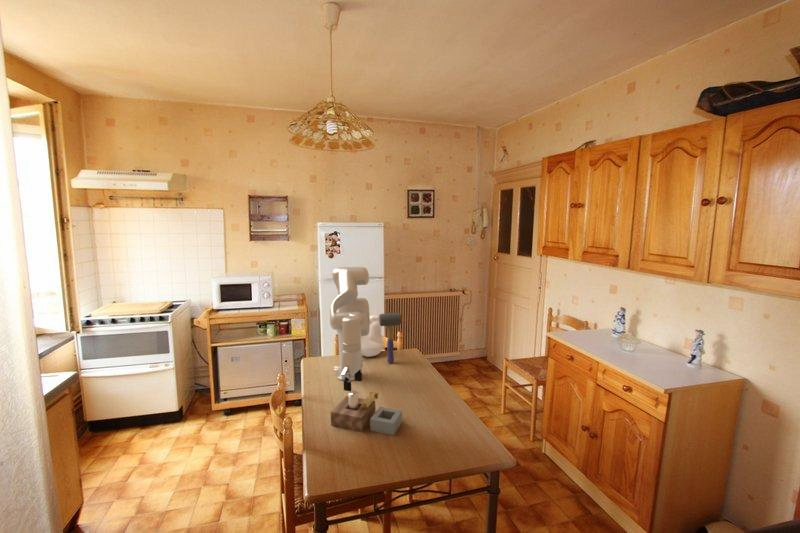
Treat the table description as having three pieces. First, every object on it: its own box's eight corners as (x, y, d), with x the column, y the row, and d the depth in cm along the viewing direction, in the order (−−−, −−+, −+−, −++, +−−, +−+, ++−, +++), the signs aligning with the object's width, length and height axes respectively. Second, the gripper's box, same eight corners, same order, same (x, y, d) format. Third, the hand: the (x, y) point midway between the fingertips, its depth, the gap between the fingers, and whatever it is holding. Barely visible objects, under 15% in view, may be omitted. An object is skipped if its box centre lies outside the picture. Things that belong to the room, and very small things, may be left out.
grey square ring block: (370, 430, 147) (370, 418, 146) (380, 417, 156) (379, 406, 156) (393, 435, 144) (393, 423, 143) (401, 421, 153) (401, 410, 152)
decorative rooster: (379, 348, 238) (379, 311, 235) (387, 356, 223) (386, 317, 220) (341, 352, 230) (340, 314, 226) (346, 362, 215) (345, 321, 212)
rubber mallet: (399, 359, 219) (399, 310, 215) (402, 364, 212) (401, 314, 208) (379, 361, 217) (378, 312, 213) (380, 366, 210) (380, 315, 205)
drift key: (360, 407, 153) (360, 402, 152) (371, 396, 162) (371, 390, 162) (368, 409, 151) (368, 403, 151) (378, 397, 161) (378, 392, 161)
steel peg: (347, 421, 154) (346, 394, 152) (351, 416, 158) (351, 390, 156) (356, 422, 153) (355, 395, 151) (360, 417, 156) (359, 391, 155)
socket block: (331, 425, 151) (330, 411, 150) (347, 408, 164) (346, 395, 163) (361, 431, 146) (361, 417, 145) (375, 413, 159) (375, 401, 158)
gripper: (353, 338, 160) (354, 376, 162) (333, 352, 144) (334, 393, 146) (369, 340, 157) (369, 378, 159) (350, 354, 141) (351, 396, 143)
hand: (353, 385), depth 152 cm, fingers open, 9 cm apart
